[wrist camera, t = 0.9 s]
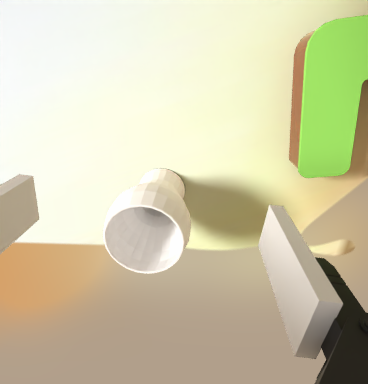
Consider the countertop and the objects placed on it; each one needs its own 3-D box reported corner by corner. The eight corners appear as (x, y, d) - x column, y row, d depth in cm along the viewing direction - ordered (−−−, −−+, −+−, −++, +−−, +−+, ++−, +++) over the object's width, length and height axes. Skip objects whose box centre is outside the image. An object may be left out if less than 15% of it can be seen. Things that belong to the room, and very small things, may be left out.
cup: (201, 169, 42) (200, 214, 28) (184, 224, 46) (176, 286, 32) (136, 151, 41) (104, 188, 28) (126, 209, 46) (93, 265, 32)
